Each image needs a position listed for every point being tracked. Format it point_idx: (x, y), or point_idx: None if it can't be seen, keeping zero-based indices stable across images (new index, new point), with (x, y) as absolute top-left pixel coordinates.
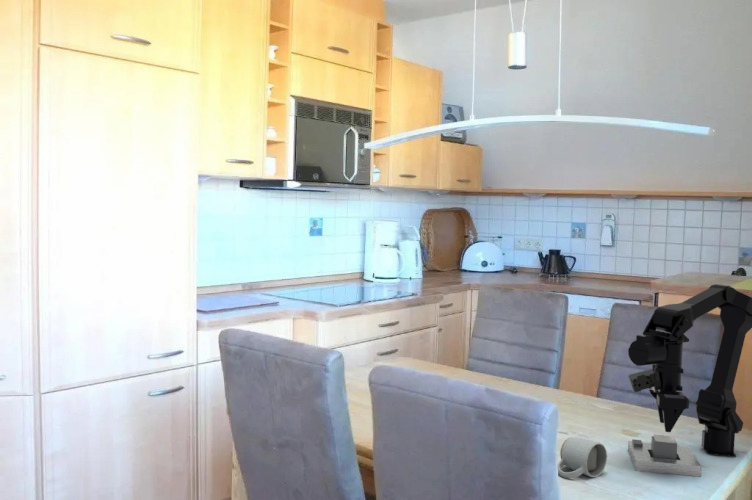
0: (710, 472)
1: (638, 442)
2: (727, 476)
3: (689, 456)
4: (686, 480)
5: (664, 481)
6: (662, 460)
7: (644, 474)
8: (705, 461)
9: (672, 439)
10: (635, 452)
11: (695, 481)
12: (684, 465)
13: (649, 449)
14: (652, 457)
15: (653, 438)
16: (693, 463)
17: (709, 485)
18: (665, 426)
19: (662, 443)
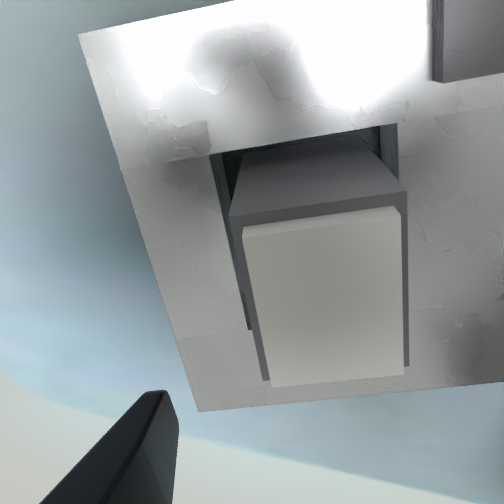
0: (289, 407)
1: (486, 39)
2: (269, 455)
3: None
4: (118, 315)
5: (31, 217)
6: (184, 230)
7: (69, 103)
8: (444, 400)
9: (293, 367)
10: (270, 22)
11: (130, 348)
12: (176, 341)
13: (396, 139)
14: (286, 158)
15: (331, 207)
16: (225, 383)
17: (115, 393)
18: (100, 446)
19: (244, 278)
